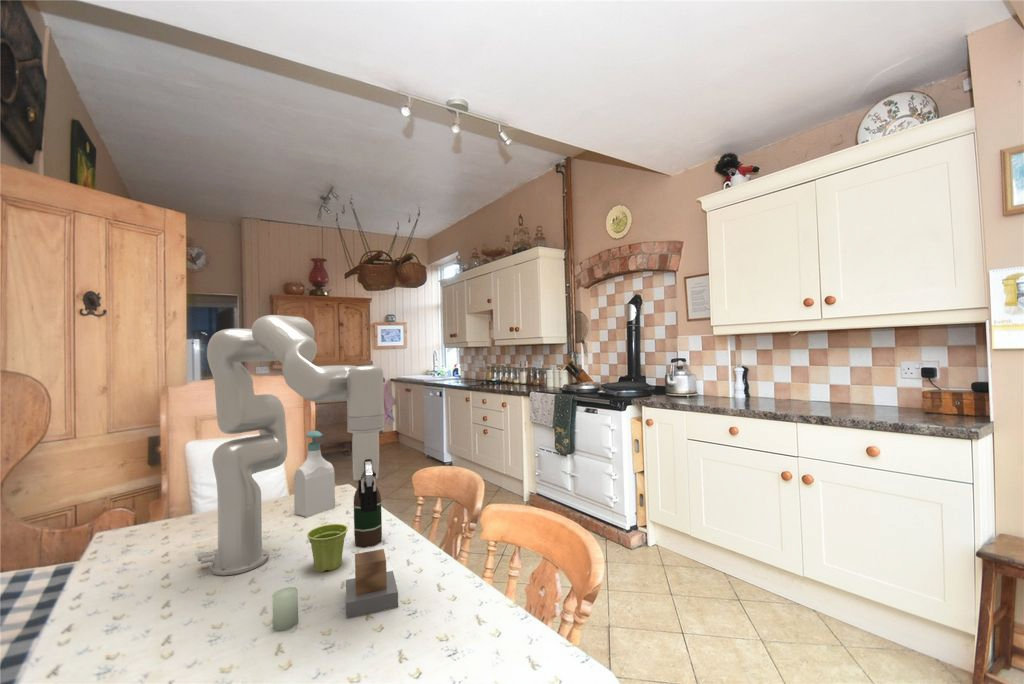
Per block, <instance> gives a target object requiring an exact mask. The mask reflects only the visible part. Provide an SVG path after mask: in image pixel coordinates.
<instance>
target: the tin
mask: <svg viewBox="0 0 1024 684" xmlns="http://www.w3.org/2000/svg"><path fill="white" fill-rule="evenodd" d="M298 623H299V589H298V588H297V587H295V586H287V587H283V588H280V589H279V590H276V591H275V592H274V593H273V594H272V629H273V631H276V632H284V631H288V630H291V629H292V628H294V627H295V626H297V625H298Z"/></svg>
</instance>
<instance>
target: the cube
mask: <svg viewBox="0 0 1024 684" xmlns="http://www.w3.org/2000/svg"><path fill="white" fill-rule="evenodd" d="M386 557H387V556H386V553H385V549H384V548H380V549H375V550H368V551H363V552H359V553H354V569H355V570H354V573H355V574H354V575H355V583H356V596H358V595H362V594H367V593H372V592H377V591H381V590H386V589H387V577H386V572H387V558H386Z"/></svg>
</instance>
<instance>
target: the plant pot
mask: <svg viewBox="0 0 1024 684" xmlns="http://www.w3.org/2000/svg"><path fill="white" fill-rule="evenodd" d="M348 530H349V528H348V526H347V525H345V524H343V523H342V524H341V523H331V524H330V523H329V524H325V525H321V526H317V527H314V528H312V529H311V530H310V531H308V533H307V534H306V537H307V538H308V540H309V543H310V546H311V553H312V557H313V558H312V559H313V560H312V561H313V565H314V570H315V571H317V572H325V571H333V570H335V569H337V568H338V569H339V567H340V566H341V564H342V561H343V551H344V543H345V538H346V536H347V535H346V534H347V532H348Z"/></svg>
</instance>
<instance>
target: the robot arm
mask: <svg viewBox="0 0 1024 684" xmlns="http://www.w3.org/2000/svg"><path fill="white" fill-rule="evenodd" d="M315 333H316V332H315V328H314V326H313V324H312V323H311V322H310V321H309V320H307V319H306V318H304V317H302V316H291V315H281V314H268V315H264V316H260V317H259V318H257V319H256V320H255V321H254V322H253V323H252V326H251V328H239V327H238V328H236V327H235V328H225V329H221V330H219V331H217V332H215V333H214V334H213V335H212V336H211V337H210V338H209V341H208V344H207V347H206V358H207V363H208V366H209V370H210V372H211V375H212V379H213V382H214V383H213V384H214V394H215V396H214V397H215V409H216V419H217V426H218V429H219V431H220V432H221V433H223V434H226V435H236V434H237V435H238V434H244V433H251V432H257V431H258V433H259V435H255V436H247V437H241V438H236V439H232V440H228V441H226V442H224V443H221V444H220V445H218V446H217V447H216V449H215V450H214V451H213V453H212V461H211V462H212V466H213V467H212V468H213V472H214V475H215V482H216V489H217V490H216V492H217V549H216V548H215V549H214V550H213V551H205V552H201V553H200V552H199V553H198V554H197V555H198V556H197V562H198V563H199V562H200V564H201V565H202V564H208V563H212V564H211V565H210V572H211V573H212V574H214V575H217V576H231V575H232V576H234V575H237V574H241V573H245V572H249V571H251V570H255V569H257V568H258V567H260V566H262V565H264V564H265V563H266V562H267V561H268V560H269V558H270V555H269V551H268V550H266V549H263V544H262V543H263V536H262V533H263V531H262V530H263V529H262V527H263V526H262V521H263V520H262V519H263V518H262V490H261V487H260V485H259V484H258V483H257V481H256V480H255V479H254V477H253V476H252V475H253V474H254V475H255V474H258V473H260V472H261V473H262V472H265V471H268V470H272V469H275V468H278V467H280V466H282V465H283V464H284V463H285V461H286V459H287V457H288V436H287V434H288V433H287V425H286V424H287V423H286V422H287V420H286V413H285V412H286V411H285V407H284V404H283V402H282V401H281V400H280V398H278V397H277V396H276V395H273V394H268V393H265V394H263V393H262V394H255V391H254V380H253V377H252V375H251V373H250V372H249V370H248V369H247V368H246V367H245V366H244V365H243V364H242V362H244V363H245V362H274V361H275V362H276V361H279V362H280V363H281V364H282V365H281V372H282V376H283V379H284V382H285V384H287V386H288V387H289V388H290V389H291V390H293V391H294V392H295V393H296V394H297V395H299V396H300V397H302V398H303V399H305V400H307V401H310V402H314V403H320V402H327V401H328V402H329V401H336V400H346V409H347V410H346V412H347V413H346V414H347V417H346V418H347V422H346V423H347V424H346V425H347V433H349V434H352V440H351V441H352V444H351V445H352V447H351V448H352V478H353V479H352V480H353V481H354V482H358V483H357V484H358V487H357V488H359V499H360V509H361V513H365V512H372V511H376V510H377V490H376V486H377V484H376V483H377V482H376V480H377V479H378V478H379V474H380V472H379V470H380V469H379V467H380V433H379V432H381V431H384V430H385V401H384V399H385V396H384V393H385V392H384V390H385V389H384V385H385V384H384V370H383V368H382V367H380V366H378V365H360V366H359V365H358V366H357V365H349V364H347V365H346V364H345V365H322V366H321V365H315V364H313V363H312V362H313V361H314V359H315V358H316V355H317V352H318V345H317V343H316V341H315V337H316V336H315V335H316V334H315Z"/></svg>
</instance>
